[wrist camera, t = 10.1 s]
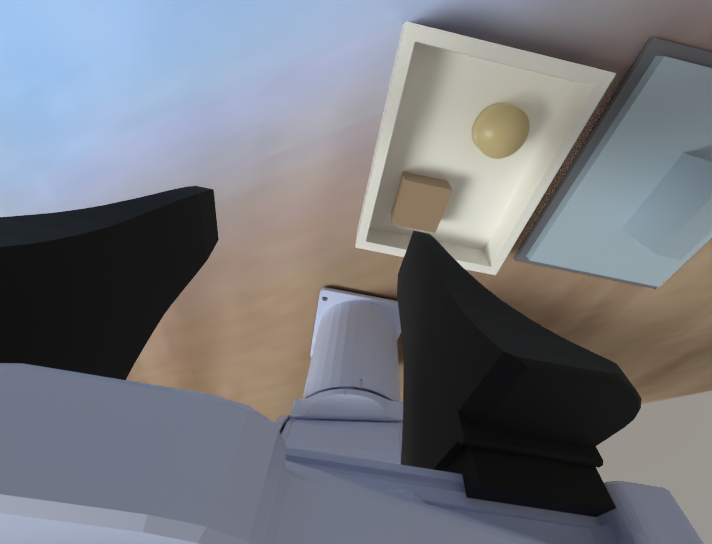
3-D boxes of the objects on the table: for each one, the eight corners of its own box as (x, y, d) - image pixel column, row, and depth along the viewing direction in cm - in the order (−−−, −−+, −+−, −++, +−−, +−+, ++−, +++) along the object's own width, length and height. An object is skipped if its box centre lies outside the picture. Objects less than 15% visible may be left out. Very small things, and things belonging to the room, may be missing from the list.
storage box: (485, 254, 23) (495, 275, 21) (357, 229, 22) (355, 247, 20) (585, 70, 16) (616, 73, 14) (402, 25, 15) (405, 21, 13)
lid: (653, 282, 23) (695, 317, 20) (526, 255, 22) (548, 288, 19) (837, 102, 16) (946, 115, 13) (655, 55, 15) (725, 57, 12)
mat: (652, 286, 24) (655, 288, 23) (513, 258, 23) (515, 260, 23) (854, 90, 16) (862, 90, 15) (650, 37, 15) (654, 37, 15)
